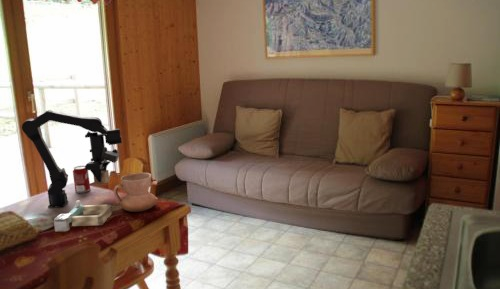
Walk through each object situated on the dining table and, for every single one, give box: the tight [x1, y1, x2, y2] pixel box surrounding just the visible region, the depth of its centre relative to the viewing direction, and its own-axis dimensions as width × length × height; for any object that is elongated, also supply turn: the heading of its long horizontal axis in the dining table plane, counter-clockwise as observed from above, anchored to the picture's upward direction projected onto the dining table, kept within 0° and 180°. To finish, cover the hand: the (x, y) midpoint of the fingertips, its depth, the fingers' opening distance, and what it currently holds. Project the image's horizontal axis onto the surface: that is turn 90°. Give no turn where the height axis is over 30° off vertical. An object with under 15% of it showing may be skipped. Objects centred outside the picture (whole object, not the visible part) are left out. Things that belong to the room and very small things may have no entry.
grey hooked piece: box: [53, 212, 84, 232], centre depth 166 cm, size 5×20×5 cm, turn 0°
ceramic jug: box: [113, 172, 158, 213], centre depth 176 cm, size 18×14×14 cm
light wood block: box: [93, 169, 110, 185], centre depth 189 cm, size 5×5×5 cm
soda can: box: [72, 165, 91, 194], centre depth 201 cm, size 7×7×12 cm
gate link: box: [67, 199, 84, 224], centre depth 167 cm, size 17×4×5 cm, turn 0°
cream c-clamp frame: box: [71, 203, 114, 227], centre depth 167 cm, size 12×13×4 cm
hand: (101, 180), depth 189 cm, fingers closed on light wood block, 5 cm apart
